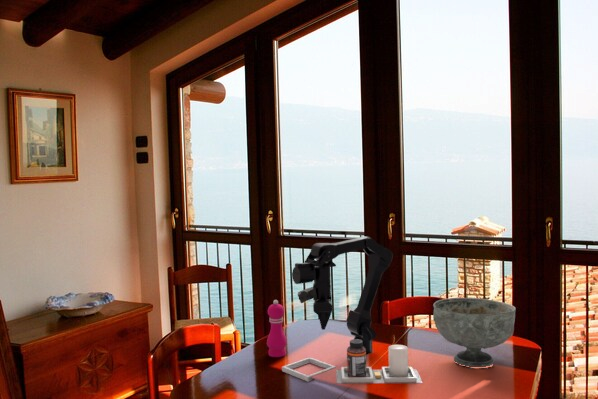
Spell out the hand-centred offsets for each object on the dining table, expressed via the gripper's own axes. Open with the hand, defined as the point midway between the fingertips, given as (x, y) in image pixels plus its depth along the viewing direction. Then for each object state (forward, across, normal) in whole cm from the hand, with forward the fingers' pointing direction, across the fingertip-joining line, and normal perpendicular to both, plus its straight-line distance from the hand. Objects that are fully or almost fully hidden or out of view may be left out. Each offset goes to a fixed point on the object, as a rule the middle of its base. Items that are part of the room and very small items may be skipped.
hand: (323, 325), depth 183 cm
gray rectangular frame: (+13, +16, +17) cm, 26 cm away
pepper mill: (+13, -9, -17) cm, 23 cm away
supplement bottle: (+12, +15, +10) cm, 22 cm away
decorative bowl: (+13, 0, +51) cm, 53 cm away
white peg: (+12, +16, +23) cm, 30 cm away
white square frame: (+13, +8, -5) cm, 16 cm away
